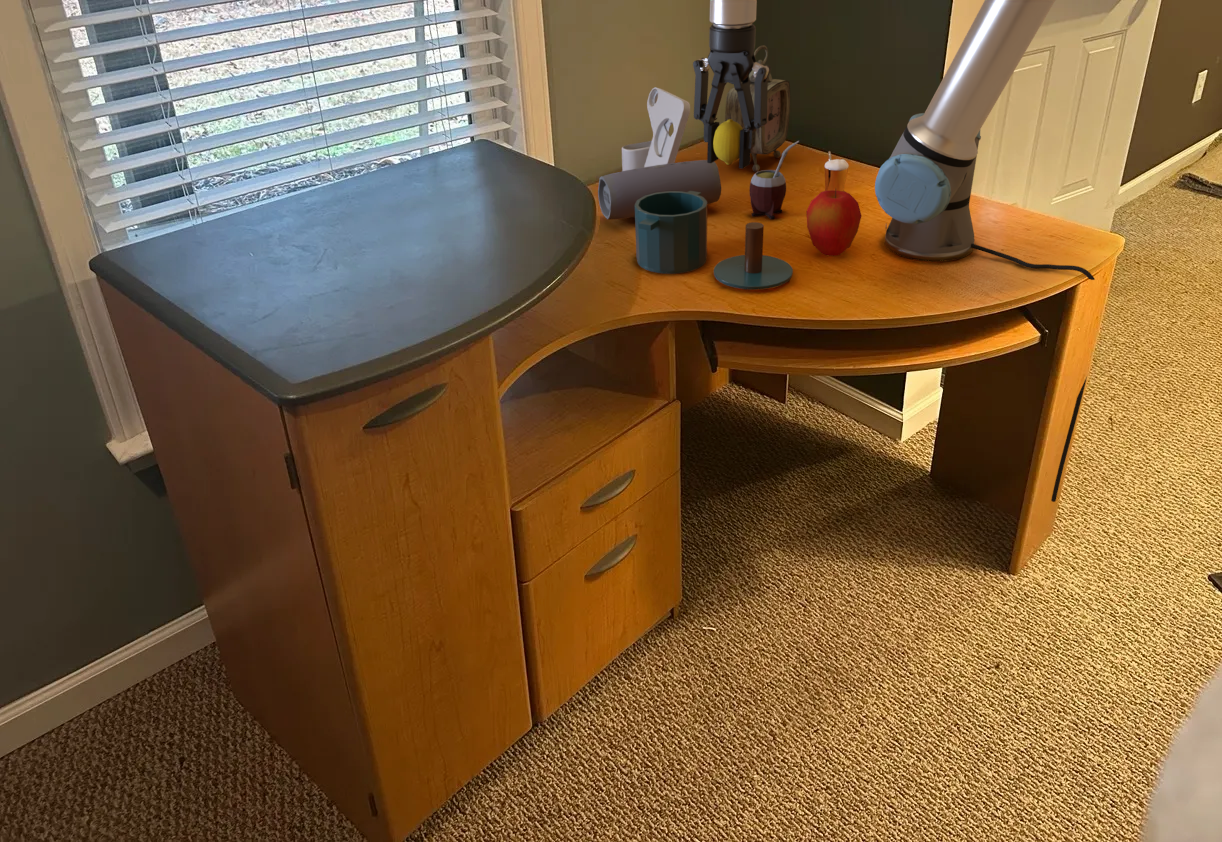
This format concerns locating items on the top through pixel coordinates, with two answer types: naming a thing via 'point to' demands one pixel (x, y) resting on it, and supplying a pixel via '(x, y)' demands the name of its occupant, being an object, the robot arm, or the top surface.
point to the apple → (833, 221)
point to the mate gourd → (768, 190)
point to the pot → (671, 231)
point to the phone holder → (659, 132)
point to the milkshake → (835, 174)
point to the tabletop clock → (777, 114)
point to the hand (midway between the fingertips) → (728, 163)
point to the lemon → (727, 141)
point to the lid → (753, 265)
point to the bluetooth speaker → (656, 185)
